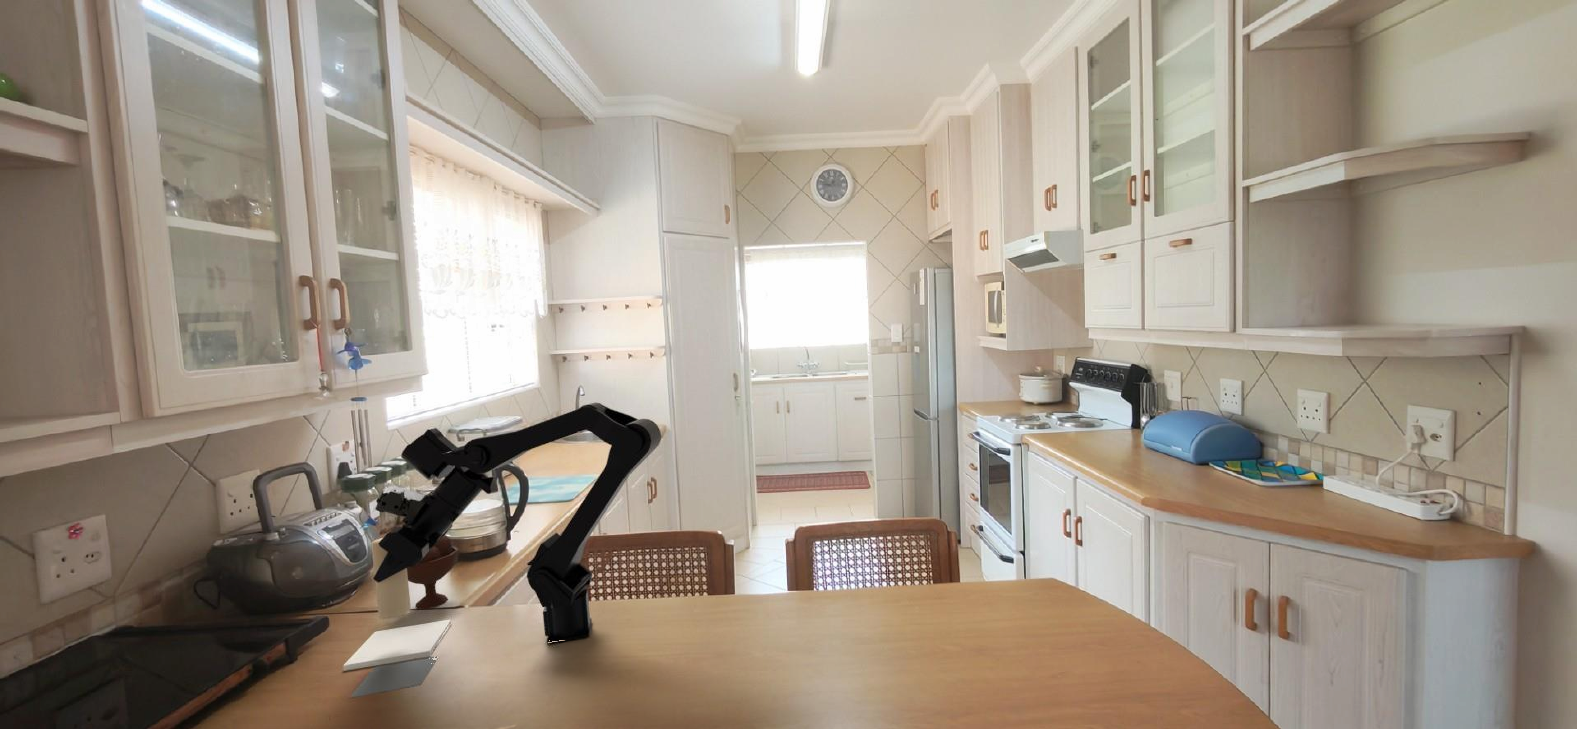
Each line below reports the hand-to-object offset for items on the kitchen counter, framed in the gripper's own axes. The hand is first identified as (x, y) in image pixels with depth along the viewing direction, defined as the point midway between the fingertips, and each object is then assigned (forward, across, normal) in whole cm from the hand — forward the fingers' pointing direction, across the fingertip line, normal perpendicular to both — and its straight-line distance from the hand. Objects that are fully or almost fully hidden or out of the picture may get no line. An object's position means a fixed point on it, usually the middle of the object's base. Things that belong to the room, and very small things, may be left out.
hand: (381, 575), depth 101 cm
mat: (+6, +9, +12) cm, 16 cm away
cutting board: (+8, -2, +10) cm, 13 cm away
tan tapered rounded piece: (+4, 0, +6) cm, 7 cm away
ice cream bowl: (+9, -21, +10) cm, 25 cm away
